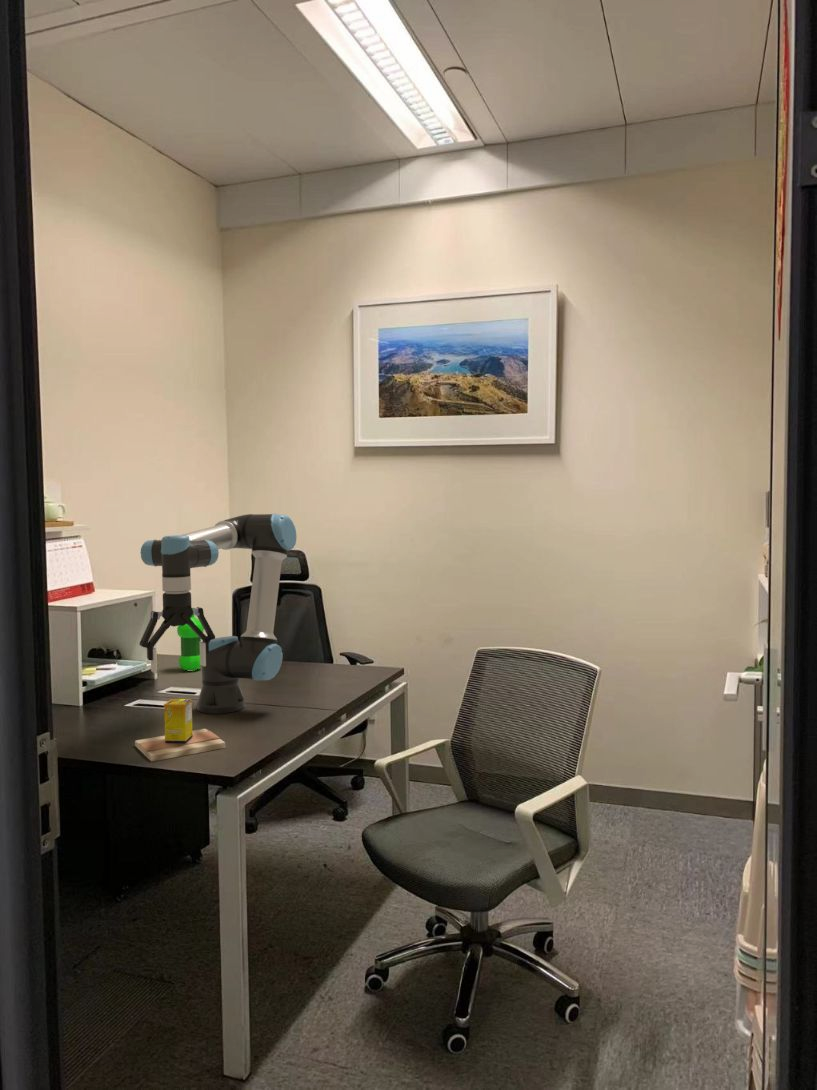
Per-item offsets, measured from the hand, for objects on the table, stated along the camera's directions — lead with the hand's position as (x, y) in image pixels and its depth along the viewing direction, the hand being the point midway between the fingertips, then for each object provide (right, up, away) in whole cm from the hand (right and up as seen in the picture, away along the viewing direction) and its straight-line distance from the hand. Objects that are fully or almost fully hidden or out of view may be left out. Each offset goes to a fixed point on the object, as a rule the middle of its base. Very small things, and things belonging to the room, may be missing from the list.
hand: (178, 668), depth 215 cm
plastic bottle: (-24, -17, +100) cm, 104 cm away
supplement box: (0, -20, 0) cm, 20 cm away
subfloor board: (0, -22, 0) cm, 22 cm away
